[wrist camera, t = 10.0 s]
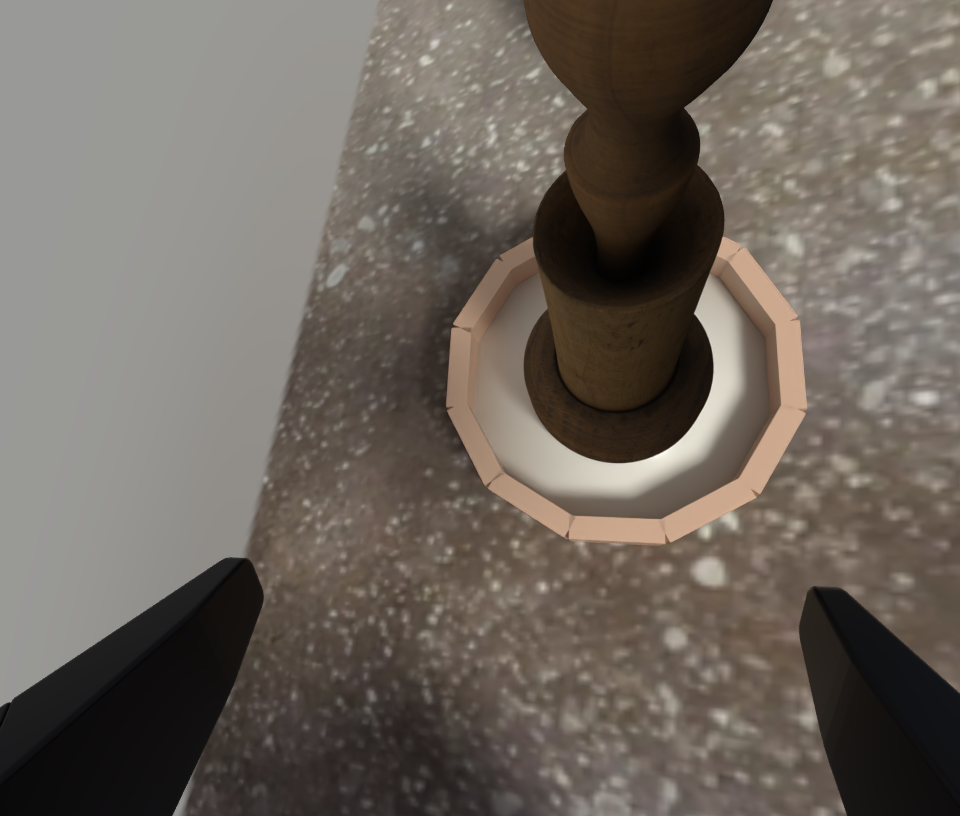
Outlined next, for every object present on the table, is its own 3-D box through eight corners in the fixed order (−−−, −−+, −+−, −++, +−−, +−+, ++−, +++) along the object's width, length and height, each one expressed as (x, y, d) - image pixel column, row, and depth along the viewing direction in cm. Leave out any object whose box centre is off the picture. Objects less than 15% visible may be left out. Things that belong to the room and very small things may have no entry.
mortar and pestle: (513, 446, 23) (266, 95, 6) (545, 295, 24) (420, -343, 7) (691, 479, 21) (1054, 130, 4) (715, 315, 23) (1058, -437, 6)
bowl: (856, 442, 21) (885, 429, 19) (550, 603, 22) (546, 607, 20) (669, 190, 25) (675, 156, 23) (413, 332, 26) (397, 312, 24)
